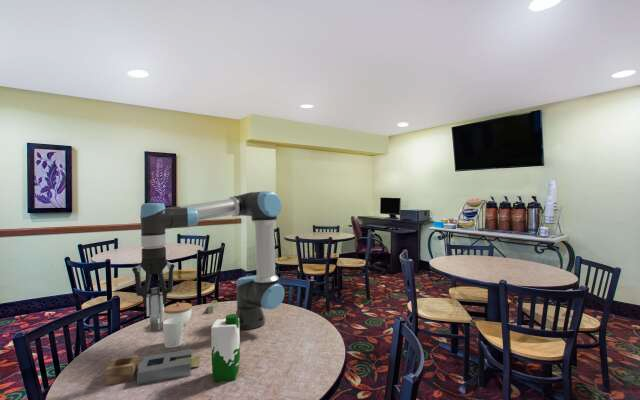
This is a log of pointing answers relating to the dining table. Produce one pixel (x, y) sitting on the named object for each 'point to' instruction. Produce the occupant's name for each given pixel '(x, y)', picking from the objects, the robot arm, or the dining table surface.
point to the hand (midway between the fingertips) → (155, 313)
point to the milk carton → (225, 348)
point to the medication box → (212, 306)
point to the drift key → (194, 360)
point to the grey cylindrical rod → (155, 309)
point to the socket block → (164, 367)
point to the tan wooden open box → (121, 370)
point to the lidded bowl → (178, 311)
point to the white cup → (173, 332)
